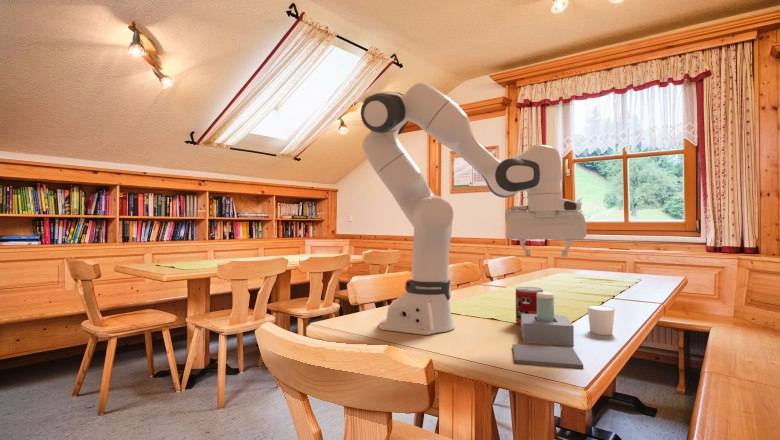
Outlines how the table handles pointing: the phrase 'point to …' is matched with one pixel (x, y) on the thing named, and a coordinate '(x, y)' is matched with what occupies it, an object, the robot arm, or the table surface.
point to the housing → (547, 330)
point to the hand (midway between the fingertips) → (545, 256)
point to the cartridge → (545, 307)
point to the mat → (546, 356)
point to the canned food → (526, 301)
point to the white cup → (601, 319)
